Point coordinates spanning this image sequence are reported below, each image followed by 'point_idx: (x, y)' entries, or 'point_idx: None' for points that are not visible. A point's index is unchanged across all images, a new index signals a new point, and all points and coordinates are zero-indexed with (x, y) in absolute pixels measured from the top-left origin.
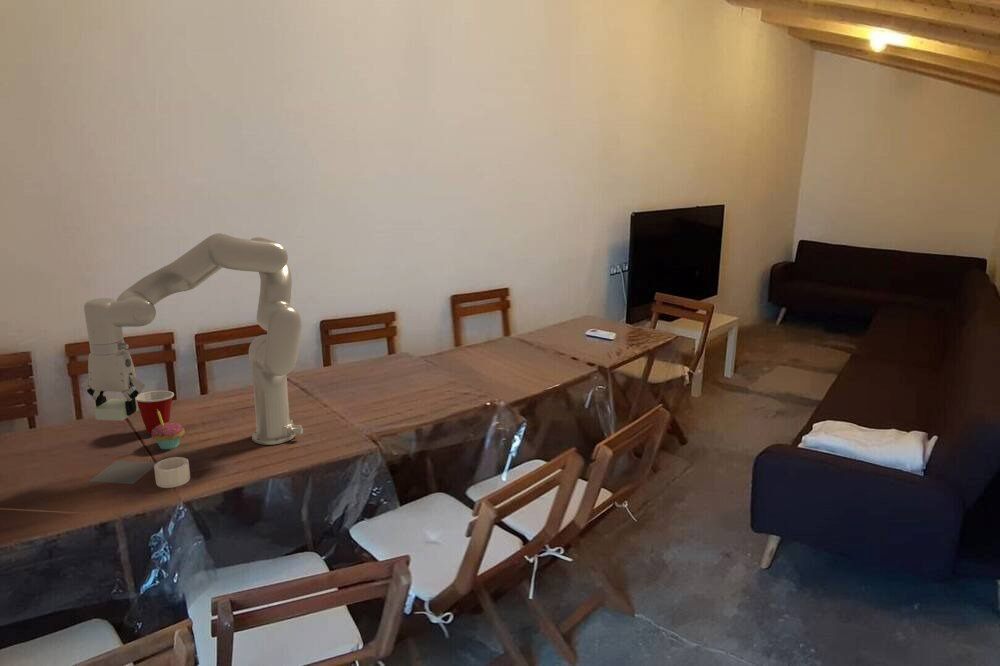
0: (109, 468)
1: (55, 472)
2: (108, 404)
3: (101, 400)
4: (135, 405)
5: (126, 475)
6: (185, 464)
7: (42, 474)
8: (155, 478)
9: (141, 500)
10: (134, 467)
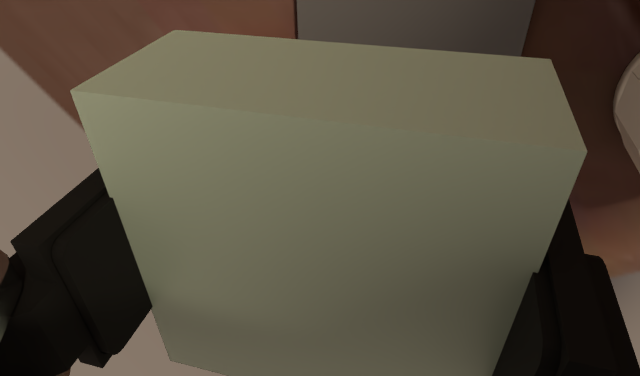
0: None
1: (117, 16)
2: (220, 291)
3: (107, 310)
4: (609, 308)
5: (434, 49)
6: None
7: (90, 36)
8: (630, 156)
9: (579, 232)
10: None
